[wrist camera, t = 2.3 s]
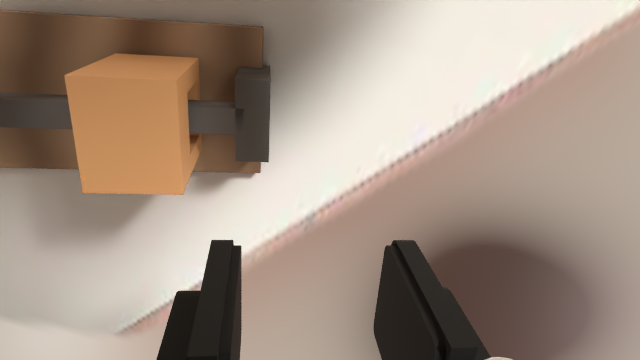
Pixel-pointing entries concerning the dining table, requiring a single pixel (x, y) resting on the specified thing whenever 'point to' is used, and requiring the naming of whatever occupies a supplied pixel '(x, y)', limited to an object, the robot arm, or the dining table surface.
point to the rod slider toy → (141, 39)
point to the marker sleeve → (134, 123)
